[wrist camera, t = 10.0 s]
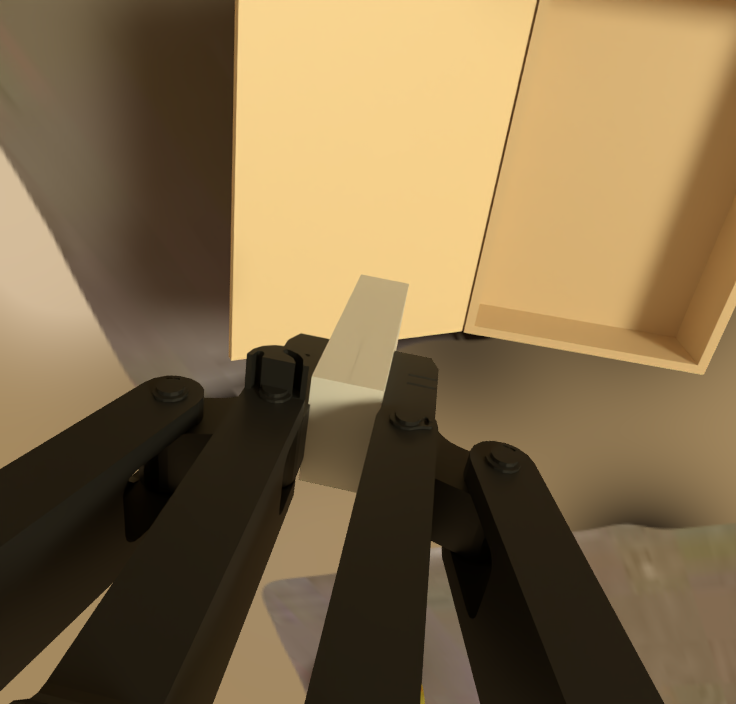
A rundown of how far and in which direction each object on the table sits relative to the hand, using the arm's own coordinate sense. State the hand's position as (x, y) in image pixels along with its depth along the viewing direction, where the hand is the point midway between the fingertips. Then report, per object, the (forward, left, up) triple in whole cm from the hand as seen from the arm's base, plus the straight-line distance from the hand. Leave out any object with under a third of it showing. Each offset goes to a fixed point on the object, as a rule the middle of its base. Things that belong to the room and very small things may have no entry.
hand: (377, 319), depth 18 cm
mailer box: (-3, +13, -25) cm, 28 cm away
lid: (-3, -2, -15) cm, 15 cm away
